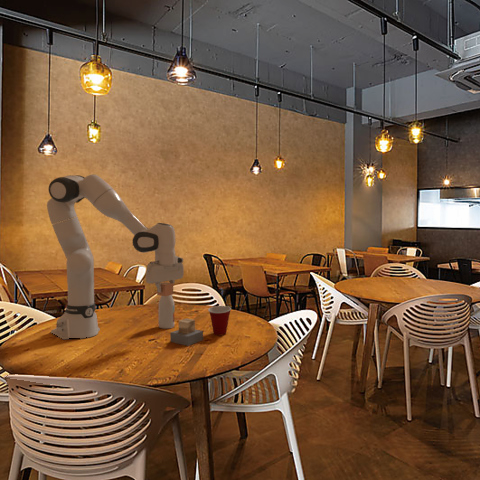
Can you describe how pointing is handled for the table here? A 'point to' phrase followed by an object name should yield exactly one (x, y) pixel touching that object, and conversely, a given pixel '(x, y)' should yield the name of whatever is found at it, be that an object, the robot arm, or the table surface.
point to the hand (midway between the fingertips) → (165, 291)
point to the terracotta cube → (166, 289)
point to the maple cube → (186, 326)
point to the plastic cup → (219, 319)
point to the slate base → (186, 337)
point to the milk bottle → (166, 312)
